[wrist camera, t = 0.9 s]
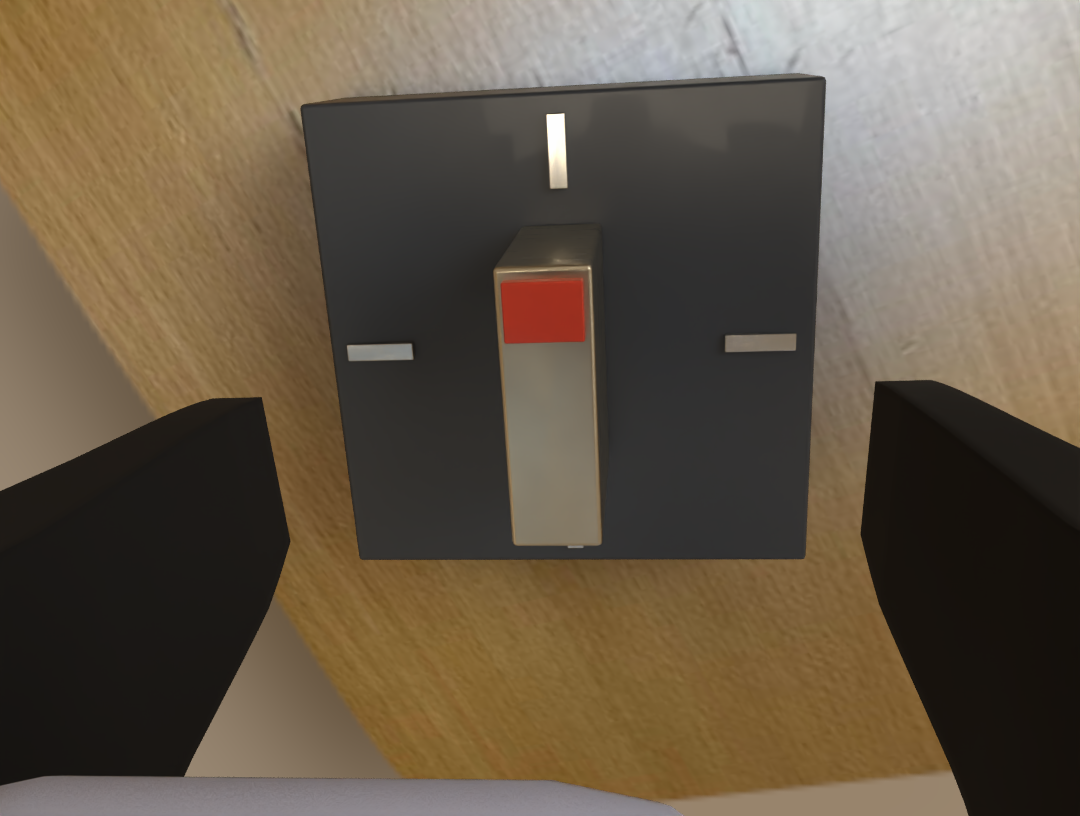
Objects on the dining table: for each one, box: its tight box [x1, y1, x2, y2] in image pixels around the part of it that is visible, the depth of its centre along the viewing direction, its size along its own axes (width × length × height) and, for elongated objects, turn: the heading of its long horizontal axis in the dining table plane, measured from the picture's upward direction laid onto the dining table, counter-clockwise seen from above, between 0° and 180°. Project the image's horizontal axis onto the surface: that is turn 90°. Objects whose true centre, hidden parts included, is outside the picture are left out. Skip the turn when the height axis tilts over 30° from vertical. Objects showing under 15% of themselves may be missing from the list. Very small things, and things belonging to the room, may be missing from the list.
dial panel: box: [301, 73, 826, 560], centre depth 21 cm, size 10×10×3 cm
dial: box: [493, 224, 609, 546], centre depth 18 cm, size 5×2×4 cm, turn 3°
